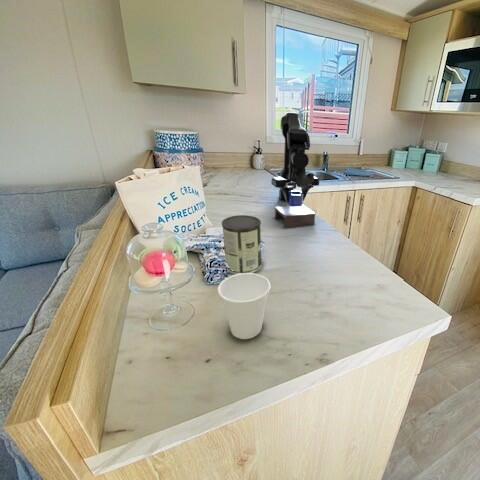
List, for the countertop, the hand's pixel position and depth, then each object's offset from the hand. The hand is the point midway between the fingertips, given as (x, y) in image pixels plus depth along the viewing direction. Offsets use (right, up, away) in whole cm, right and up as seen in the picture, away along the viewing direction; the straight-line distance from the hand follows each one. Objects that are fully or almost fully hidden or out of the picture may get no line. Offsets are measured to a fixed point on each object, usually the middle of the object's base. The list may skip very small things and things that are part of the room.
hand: (295, 202), depth 113 cm
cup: (-5, -35, -56) cm, 66 cm away
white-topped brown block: (-1, -8, +3) cm, 9 cm away
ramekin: (0, -1, 0) cm, 1 cm away
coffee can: (-12, -23, -33) cm, 42 cm away
